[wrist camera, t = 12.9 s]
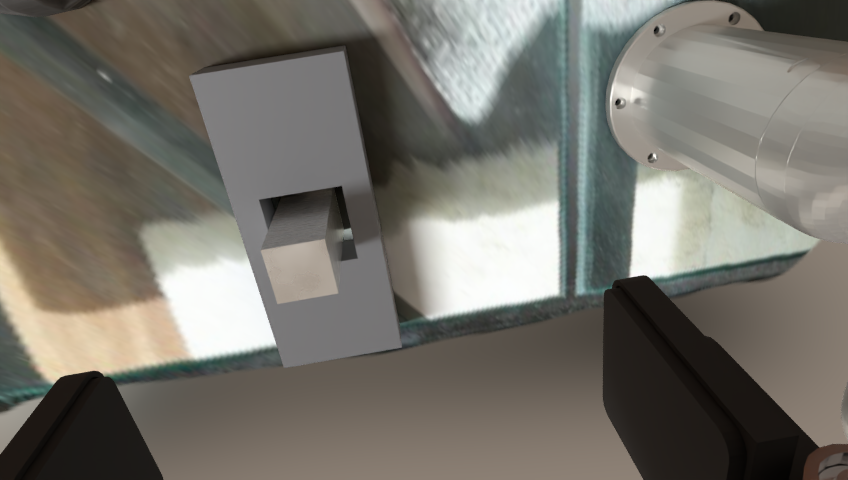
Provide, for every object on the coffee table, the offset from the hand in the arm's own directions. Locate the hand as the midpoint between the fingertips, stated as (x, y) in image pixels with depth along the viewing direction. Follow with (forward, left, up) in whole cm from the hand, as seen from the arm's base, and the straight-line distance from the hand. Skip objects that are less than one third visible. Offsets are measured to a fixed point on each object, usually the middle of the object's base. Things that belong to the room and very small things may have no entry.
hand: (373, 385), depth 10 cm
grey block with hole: (+6, +9, -32) cm, 34 cm away
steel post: (+6, +9, -32) cm, 34 cm away
